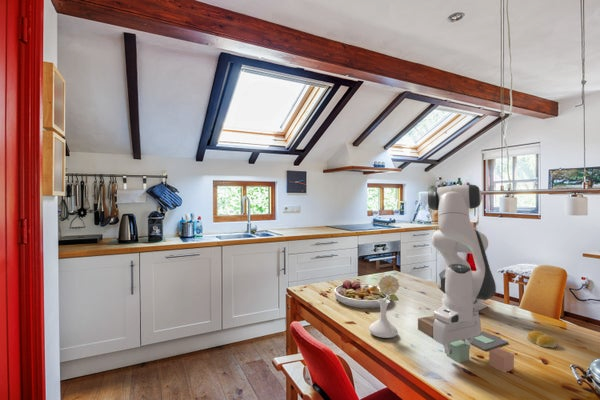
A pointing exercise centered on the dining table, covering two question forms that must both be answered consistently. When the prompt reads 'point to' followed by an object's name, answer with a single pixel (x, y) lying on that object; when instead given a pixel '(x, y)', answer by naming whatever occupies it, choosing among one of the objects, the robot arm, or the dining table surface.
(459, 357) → the green block
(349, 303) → the bowl
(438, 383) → the dining table surface
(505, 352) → the terracotta block
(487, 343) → the card
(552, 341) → the bread roll
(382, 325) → the flower in vase
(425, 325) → the walnut base block
